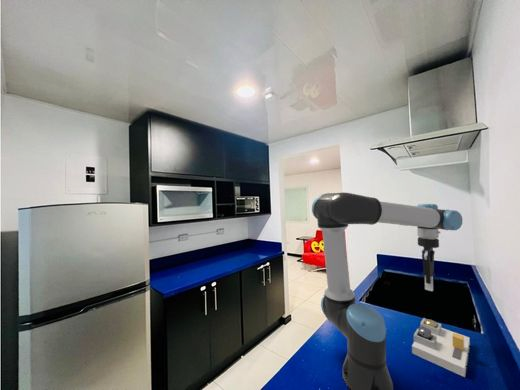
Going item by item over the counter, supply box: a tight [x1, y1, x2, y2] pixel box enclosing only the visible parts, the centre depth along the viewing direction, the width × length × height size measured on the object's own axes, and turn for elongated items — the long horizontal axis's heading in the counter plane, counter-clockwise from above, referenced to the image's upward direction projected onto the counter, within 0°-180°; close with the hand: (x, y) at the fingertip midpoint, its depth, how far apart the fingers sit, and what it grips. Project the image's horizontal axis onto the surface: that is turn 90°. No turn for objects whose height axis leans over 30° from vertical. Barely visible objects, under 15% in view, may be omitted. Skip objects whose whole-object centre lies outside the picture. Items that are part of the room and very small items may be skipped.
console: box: [411, 317, 471, 378], centre depth 85 cm, size 24×15×6 cm, turn 132°
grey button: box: [418, 326, 431, 340], centre depth 85 cm, size 4×4×3 cm
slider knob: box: [452, 332, 465, 350], centre depth 81 cm, size 3×3×4 cm
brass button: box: [425, 318, 438, 328], centre depth 93 cm, size 4×4×3 cm
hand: (429, 289), depth 93 cm, fingers closed
